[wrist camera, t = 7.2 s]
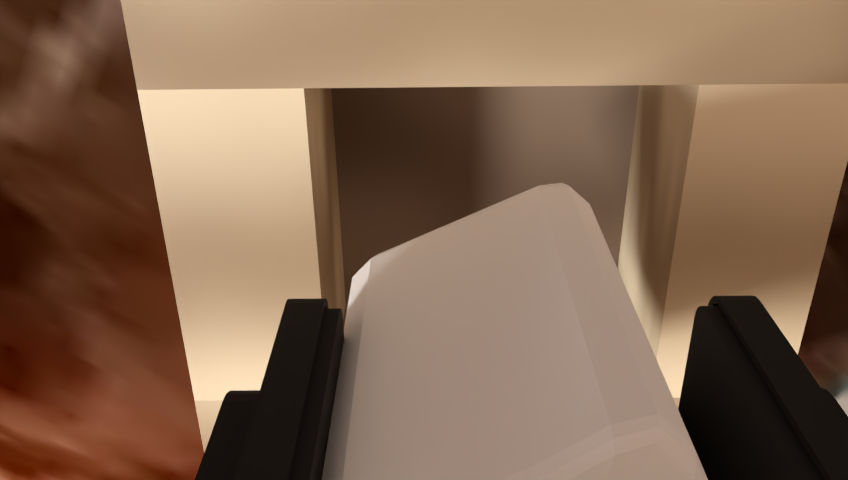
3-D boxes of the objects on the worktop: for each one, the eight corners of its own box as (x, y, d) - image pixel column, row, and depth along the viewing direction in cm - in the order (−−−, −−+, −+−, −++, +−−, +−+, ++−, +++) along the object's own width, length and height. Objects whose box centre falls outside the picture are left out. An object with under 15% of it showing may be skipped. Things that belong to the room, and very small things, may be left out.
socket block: (185, -113, 16) (104, -91, 12) (790, -120, 16) (914, -99, 12) (252, 373, 21) (213, 499, 17) (698, 369, 21) (761, 496, 17)
